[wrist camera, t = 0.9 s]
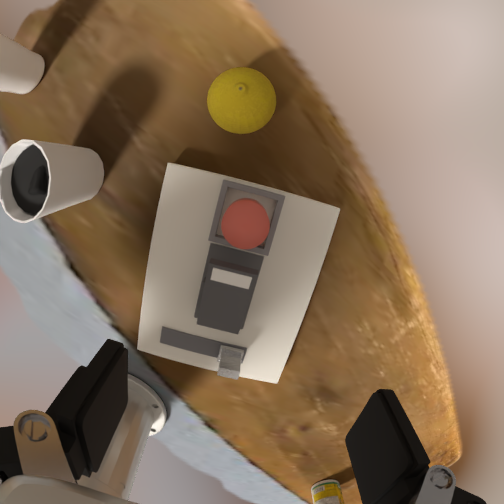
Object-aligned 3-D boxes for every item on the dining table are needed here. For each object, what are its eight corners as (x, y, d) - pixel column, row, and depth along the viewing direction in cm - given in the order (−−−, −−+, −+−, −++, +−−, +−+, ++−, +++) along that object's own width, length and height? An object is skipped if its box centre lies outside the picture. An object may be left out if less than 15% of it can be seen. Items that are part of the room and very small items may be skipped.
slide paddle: (239, 363, 30) (238, 382, 27) (217, 358, 30) (214, 377, 27) (243, 350, 30) (243, 369, 27) (221, 344, 30) (218, 363, 27)
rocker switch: (238, 328, 28) (238, 335, 28) (198, 318, 28) (196, 324, 27) (258, 270, 25) (257, 276, 24) (210, 257, 25) (208, 263, 24)
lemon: (248, 150, 27) (247, 142, 19) (201, 116, 26) (183, 97, 18) (284, 106, 26) (297, 83, 18) (238, 73, 25) (233, 40, 17)
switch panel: (275, 373, 34) (278, 392, 30) (142, 340, 32) (132, 356, 29) (334, 206, 28) (345, 211, 25) (173, 163, 27) (163, 162, 24)
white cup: (108, 140, 26) (51, 132, 17) (108, 204, 28) (53, 222, 19) (58, 147, 26) (-3, 145, 17) (59, 206, 28) (-1, 224, 19)
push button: (261, 244, 26) (262, 254, 23) (220, 234, 26) (216, 242, 23) (272, 204, 25) (275, 208, 22) (230, 193, 25) (227, 196, 22)
